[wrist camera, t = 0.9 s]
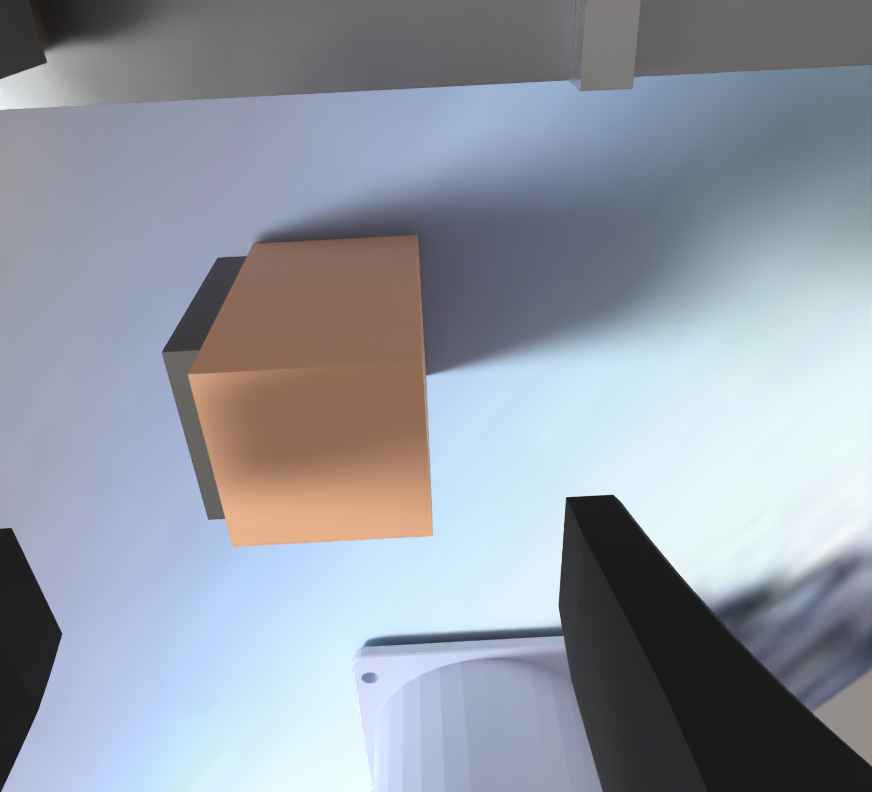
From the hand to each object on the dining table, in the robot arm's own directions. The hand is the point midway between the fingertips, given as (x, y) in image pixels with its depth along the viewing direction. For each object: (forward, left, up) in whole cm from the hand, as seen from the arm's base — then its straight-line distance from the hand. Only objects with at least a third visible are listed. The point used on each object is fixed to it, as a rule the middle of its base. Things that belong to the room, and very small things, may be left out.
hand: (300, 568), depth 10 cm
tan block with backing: (0, 0, -8) cm, 8 cm away
